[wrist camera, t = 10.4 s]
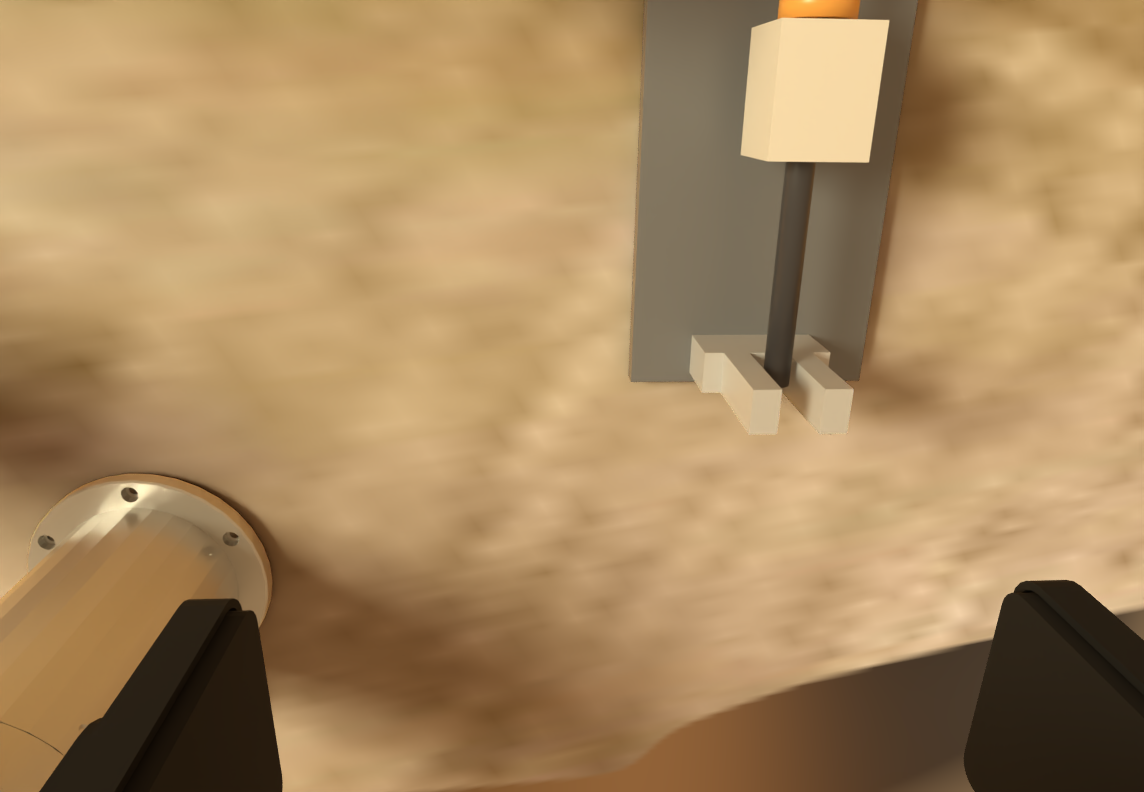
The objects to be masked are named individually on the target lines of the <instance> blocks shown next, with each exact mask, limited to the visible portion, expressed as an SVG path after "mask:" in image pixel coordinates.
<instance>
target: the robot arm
mask: <svg viewBox="0 0 1144 792" xmlns="http://www.w3.org/2000/svg"><path fill="white" fill-rule="evenodd" d="M27 571H28V574H26V575H25V576H24V577H23V578H22V579H21V580H20V581H19V582H18V583H17V584H16V585H15V586H14V587H13V588H12V589H11V590H10V591H8V592H7V593H6V594H5V595H4V596H3V597H2V598H1V599H0V792H282V783H283V782H282V773H281V767H280V760H279V754H278V748H277V741H276V735H275V729H274V722H273V716H272V710H271V703H270V697H269V691H268V684H267V678H266V672H265V665H264V659H263V653H262V646H261V640H260V634H259V628H260V626H261V624H262V622H263V620H264V618H265V616H266V613H267V610H268V608H269V605H270V602H271V595H272V584H273V581H272V574H271V567H270V562H269V560H268V557H267V554H266V552H265V549H264V547H263V545H262V543H261V541H260V540H259V538H258V537H257V535H256V533H255V532H254V530H253V529H252V527H251V526H250V525H249V524H248V523H247V522H246V521H245V520H244V519H243V518H242V516H241V515H240V514H239V513H238V512H237V511H236V510H234V509H233V508H232V507H230V506H229V505H228V504H226V503H225V502H224V501H223V500H221V499H220V498H218V497H217V496H215V495H213V494H211V493H209V492H207V491H206V490H204V489H202V488H200V487H198V486H195V485H192V484H190V483H187V482H184V481H181V480H179V479H175V478H170V477H165V476H160V475H154V474H122V475H115V476H108V477H104V478H101V479H98V480H95V481H92V482H89V483H86V484H84V485H83V486H81V487H79V488H77V489H76V490H74V491H72V492H71V493H69V494H67V495H66V496H65V497H64V498H63V499H62V500H60V501H59V502H58V503H57V504H56V505H54V506H53V507H52V508H51V509H50V510H49V511H48V513H47V514H46V515H45V516H44V517H43V518H42V520H41V521H40V522H39V523H38V525H37V527H36V529H35V531H34V533H33V535H32V537H31V540H30V545H29V550H28V555H27ZM964 766H965V771H966V775H967V778H968V780H969V782H970V784H971V786H972V788H973V790H974V791H975V792H1144V640H1143V639H1141V638H1140V637H1139V636H1138V635H1137V634H1136V633H1134V632H1133V631H1132V630H1131V629H1130V628H1129V627H1128V626H1126V625H1125V624H1124V623H1123V622H1122V621H1121V620H1119V619H1118V618H1117V617H1116V616H1115V615H1114V614H1113V613H1111V612H1110V611H1109V610H1108V609H1107V608H1106V607H1105V606H1103V605H1102V604H1101V603H1100V602H1099V601H1098V600H1096V599H1095V598H1094V597H1093V596H1092V595H1091V594H1090V593H1088V592H1087V591H1086V590H1085V589H1084V588H1083V587H1081V586H1080V585H1078V584H1077V583H1075V582H1074V581H1069V580H1047V581H1025V582H1022V583H1020V584H1019V585H1018V586H1017V587H1016V588H1015V590H1014V593H1011V594H1008V595H1007V596H1006V597H1005V598H1004V600H1003V603H1002V606H1001V610H1000V614H999V618H998V622H997V626H996V630H995V634H994V638H993V642H992V646H991V650H990V654H989V658H988V662H987V666H986V670H985V673H984V677H983V682H982V685H981V689H980V693H979V698H978V701H977V705H976V709H975V713H974V717H973V721H972V725H971V729H970V733H969V737H968V741H967V745H966V749H965V753H964Z"/></svg>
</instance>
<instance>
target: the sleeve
mask: <svg viewBox="0 0 1144 792" xmlns="http://www.w3.org/2000/svg"><path fill="white" fill-rule="evenodd" d="M888 27H889V20H867V19H821V18H780V19H777V20H774V21H771V22H768V23H765V24H762V25H759V26H756V27H753V28H752V31H751V42H750V53H749V65H748V76H747V88H746V99H745V110H744V122H743V133H742V145H741V155H743V156H747V157H751V158H755V159H760V160H764V161H774V162H868V163H869V158H870V151H871V144H872V137H873V130H874V124H875V117H876V110H877V103H878V96H879V89H880V82H881V75H882V68H883V61H884V54H885V48H886V41H887V34H888Z"/></svg>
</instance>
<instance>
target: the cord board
mask: <svg viewBox="0 0 1144 792" xmlns="http://www.w3.org/2000/svg"><path fill="white" fill-rule="evenodd" d="M917 4H918V0H644V22H643V46H642V69H641V93H640V117H639V140H638V164H637V187H636V211H635V235H634V258H633V282H632V306H631V329H630V353H629V378H630V381H631V382H696V384H697V386H698V387H699V389H700V391H701V392H702V393H721V394H722V396H723V397H724V399H725V400H726V402H727V403H728V405H729V406H730V408H731V409H732V411H733V412H734V414H735V415H736V416H737V418H738V419H739V421H740V422H741V424H742V425H743V427H744V428H745V430H746V431H747V433H748V434H749V435H777V431H778V423H779V414H780V406H781V397H782V393H783V394H784V395H785V396H786V397H787V398H788V400H789V401H790V402H791V403H792V404H793V405H794V406H795V407H796V409H797V410H798V411H799V412H800V413H801V414H802V415H803V416H804V418H805V419H806V420H807V421H808V422H809V423H810V424H811V425H812V427H813V428H814V429H815V430H816V431H817V432H818V433H819V434H847V432H848V425H849V419H850V412H851V406H852V399H853V393H854V389H853V388H852V387H851V386H850V385H849V384H847V383H846V382H845V381H859V377H860V371H861V364H862V358H863V351H864V345H865V338H866V332H867V326H868V319H869V313H870V306H871V300H872V293H873V287H874V280H875V274H876V268H877V261H878V255H879V248H880V242H881V235H882V229H883V223H884V216H885V210H886V203H887V197H888V190H889V184H890V177H891V171H892V165H893V158H894V152H895V145H896V139H897V132H898V126H899V120H900V113H901V107H902V100H903V94H904V87H905V81H906V74H907V68H908V62H909V55H910V49H911V42H912V36H913V29H914V23H915V17H916V10H917ZM780 18H821V19H867V20H889V27H888V34H887V41H886V48H885V54H884V61H883V68H882V75H881V82H880V89H879V96H878V103H877V110H876V117H875V124H874V130H873V137H872V144H871V151H870V158H869V163H868V162H774V161H764V160H760V159H755V158H751V157H747V156H743V155H741V145H742V133H743V122H744V110H745V99H746V88H747V76H748V65H749V53H750V42H751V31H752V28H753V27H756V26H759V25H762V24H765V23H768V22H771V21H774V20H777V19H780Z"/></svg>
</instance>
